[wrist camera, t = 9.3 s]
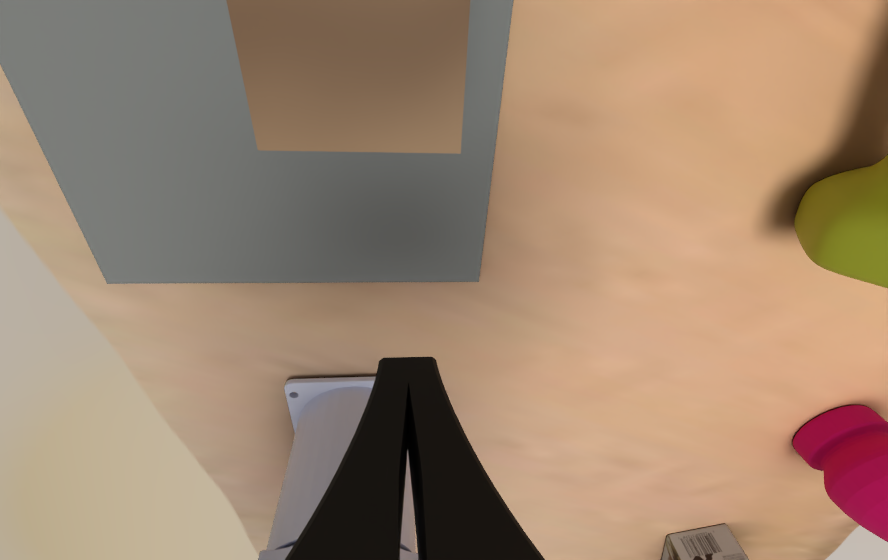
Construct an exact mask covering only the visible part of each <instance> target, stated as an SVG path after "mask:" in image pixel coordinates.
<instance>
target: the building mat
mask: <svg viewBox="0 0 888 560" xmlns="http://www.w3.org/2000/svg"><path fill="white" fill-rule="evenodd" d="M512 7H513V0H470V13H469V29H468V45H467V61H466V76H465V92H464V108H463V124H462V139H461V154H457V153H393V152H328V151H263V150H258V148H257V144H256V139H255V134H254V129H253V125H252V120H251V115H250V110H249V106H248V101H247V96H246V91H245V87H244V82H243V77H242V72H241V68H240V63H239V58H238V53H237V49H236V44H235V39H234V34H233V29H232V25H231V20H230V15H229V10H228V6H227V1H226V0H0V64H1V67H2V69H3V71H4V73H5V75H6V77H7V79H8V81H9V83H10V85H11V87H12V89H13V91H14V93H15V95H16V97H17V99H18V101H19V103H20V106H21V108H22V110H23V112H24V114H25V116H26V118H27V120H28V122H29V124H30V126H31V128H32V130H33V132H34V134H35V136H36V138H37V140H38V142H39V145H40V147H41V149H42V151H43V153H44V155H45V157H46V159H47V161H48V163H49V165H50V167H51V169H52V171H53V173H54V175H55V177H56V179H57V182H58V184H59V186H60V188H61V190H62V192H63V194H64V196H65V198H66V200H67V202H68V204H69V206H70V208H71V210H72V212H73V214H74V216H75V218H76V221H77V223H78V225H79V227H80V229H81V231H82V233H83V235H84V237H85V239H86V241H87V243H88V245H89V247H90V249H91V251H92V253H93V255H94V257H95V260H96V262H97V264H98V266H99V268H100V270H101V272H102V274H103V276H104V278H105V280H106V282H107V284H128V283H323V282H479V276H480V268H481V259H482V251H483V243H484V235H485V227H486V219H487V211H488V202H489V194H490V186H491V178H492V170H493V162H494V154H495V146H496V137H497V129H498V121H499V113H500V105H501V97H502V89H503V80H504V72H505V64H506V56H507V48H508V40H509V32H510V23H511V15H512Z"/></svg>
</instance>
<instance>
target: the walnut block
mask: <svg viewBox="0 0 888 560" xmlns="http://www.w3.org/2000/svg"><path fill="white" fill-rule="evenodd" d="M226 1H227V6H228V10H229V15H230V20H231V25H232V29H233V34H234V39H235V44H236V49H237V53H238V58H239V63H240V68H241V72H242V77H243V82H244V87H245V91H246V96H247V101H248V106H249V110H250V115H251V120H252V125H253V129H254V134H255V139H256V144H257V148H258V150H263V151H328V152H393V153H457V154H461V139H462V124H463V108H464V92H465V76H466V61H467V45H468V29H469V13H470V0H226Z"/></svg>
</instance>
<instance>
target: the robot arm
mask: <svg viewBox="0 0 888 560" xmlns="http://www.w3.org/2000/svg"><path fill="white" fill-rule="evenodd" d="M284 390H285V395H286V399H287V403H288V407H289V411H290V416H291V420H292V424H293V428H294V432H295V437H294V441H293V445H292V449H291V453H290V457H289V461H288V465H287V469H286V473H285V477H284V481H283V485H282V489H281V493H280V497H279V501H278V505H277V509H276V513H275V517H274V521H273V525H272V529H271V533H270V537H269V541H268V545H267V549H266V550H262V551H261V552H260V554H259V558H258V560H545V559H544V558H543V556H542V555H541V554H540V552H539V551H538V550H537V548H536V547H535V546H534V544H533V543H532V542H531V540H530V539H529V538H528V536H527V535H526V533H525V532H524V531H523V529H522V528H521V526H520V525H519V523H518V522H517V520H516V519H515V517H514V516H513V514H512V513H511V511H510V510H509V508H508V507H507V505H506V504H505V502H504V501H503V499H502V498H501V496H500V494H499V493H498V491H497V490H496V488H495V487H494V485H493V483H492V482H491V480H490V478H489V477H488V475H487V473H486V471H485V470H484V468H483V466H482V464H481V463H480V461H479V459H478V457H477V455H476V454H475V452H474V450H473V448H472V446H471V444H470V443H469V441H468V439H467V437H466V435H465V433H464V431H463V429H462V427H461V424H460V422H459V420H458V418H457V416H456V414H455V412H454V410H453V407H452V405H451V403H450V400H449V398H448V395H447V393H446V391H445V388H444V385H443V383H442V380H441V377H440V374H439V370H438V367H437V363H436V360H435V359H434V358H433V357H401V358H383V359H381V360H380V361H379V365H378V370H377V374H376V377H345V378H311V379H290V380H288V381H287V382H286V383H285V386H284ZM293 392H296V393H293ZM414 516H415V517H414ZM415 525H416V535H417V547H418V553H416V551H415Z"/></svg>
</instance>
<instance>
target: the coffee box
mask: <svg viewBox="0 0 888 560" xmlns="http://www.w3.org/2000/svg"><path fill="white" fill-rule="evenodd" d="M662 560H749V559H748V557H747V556H746V554H745V553H744V551H743V549H742V548H741V546H740V545H739V543H738V542H737V540H736V539H735V537H734V536H733V534H732V532H731V531H730V529H729V528H728V526H727V525H726V524H721V525H716V526H711V527H706V528H700V529H695V530H690V531H685V532H679V533H674V534H669V535H667V538H666V542H665V547H664V551H663V556H662Z"/></svg>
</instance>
